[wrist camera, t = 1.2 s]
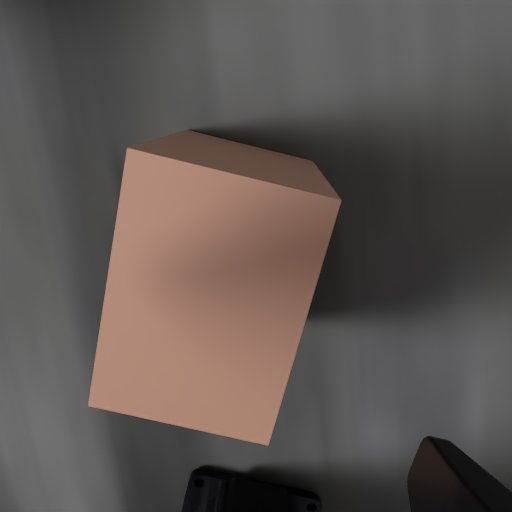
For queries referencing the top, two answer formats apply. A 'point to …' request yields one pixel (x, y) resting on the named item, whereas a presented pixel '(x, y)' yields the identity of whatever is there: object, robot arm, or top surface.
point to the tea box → (210, 283)
